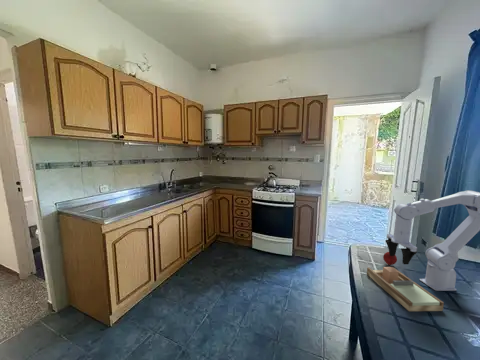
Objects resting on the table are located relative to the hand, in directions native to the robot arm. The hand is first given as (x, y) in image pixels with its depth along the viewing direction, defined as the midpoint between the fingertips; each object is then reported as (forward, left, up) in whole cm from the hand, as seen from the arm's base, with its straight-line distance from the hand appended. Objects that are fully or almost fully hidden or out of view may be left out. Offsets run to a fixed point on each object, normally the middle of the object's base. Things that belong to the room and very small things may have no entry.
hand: (398, 259), depth 96 cm
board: (+5, +8, -9) cm, 13 cm away
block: (+5, +2, -10) cm, 11 cm away
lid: (+5, +14, -7) cm, 17 cm away
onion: (-6, -12, -10) cm, 16 cm away
